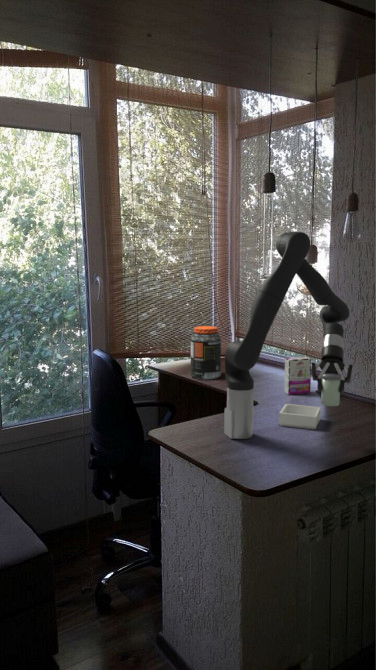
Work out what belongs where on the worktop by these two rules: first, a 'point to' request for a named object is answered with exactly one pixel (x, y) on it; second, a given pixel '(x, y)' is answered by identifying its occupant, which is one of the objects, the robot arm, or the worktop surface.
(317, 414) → the tray
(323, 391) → the jar
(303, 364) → the candy bar box
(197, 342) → the supplement tub
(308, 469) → the worktop surface
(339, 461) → the worktop surface
